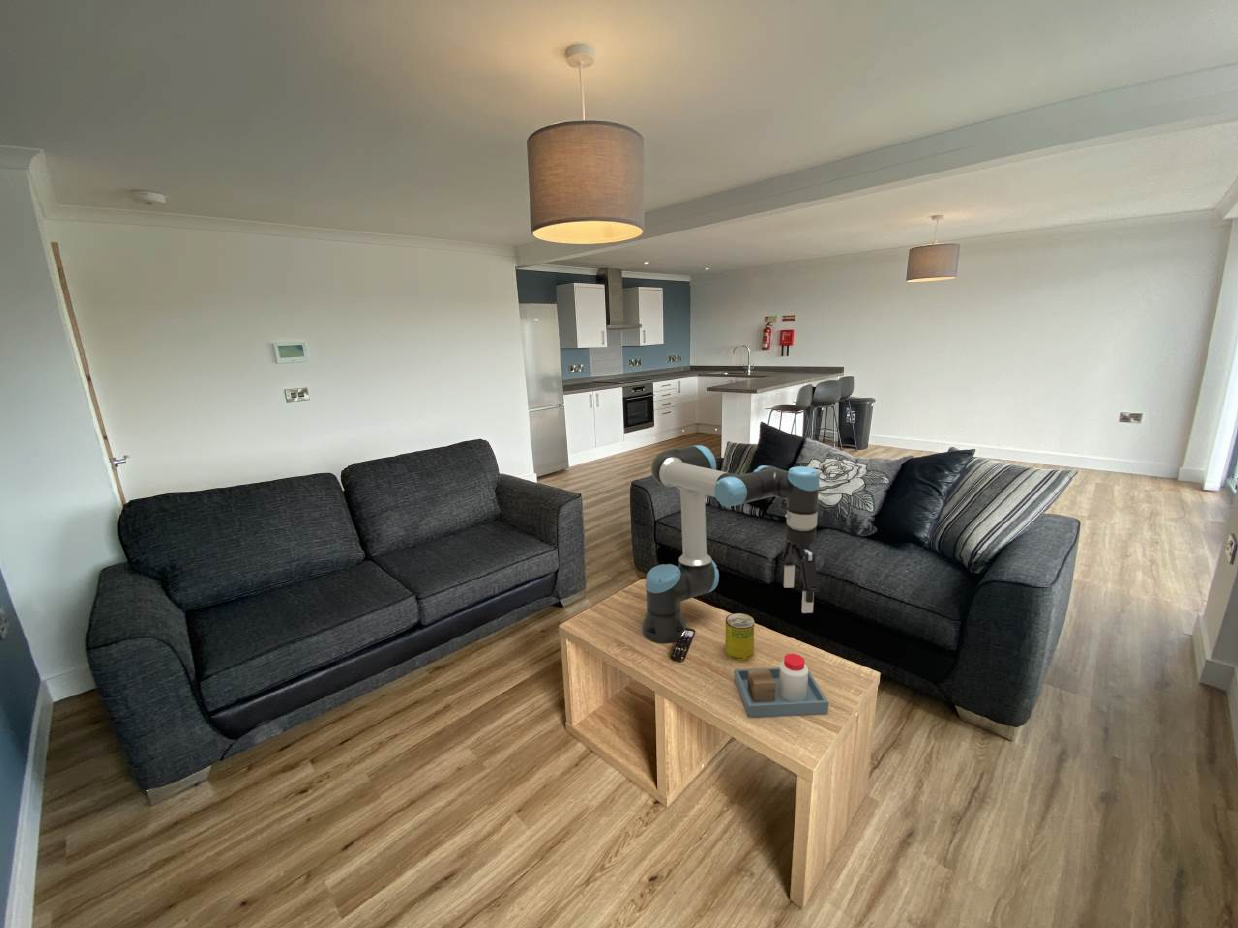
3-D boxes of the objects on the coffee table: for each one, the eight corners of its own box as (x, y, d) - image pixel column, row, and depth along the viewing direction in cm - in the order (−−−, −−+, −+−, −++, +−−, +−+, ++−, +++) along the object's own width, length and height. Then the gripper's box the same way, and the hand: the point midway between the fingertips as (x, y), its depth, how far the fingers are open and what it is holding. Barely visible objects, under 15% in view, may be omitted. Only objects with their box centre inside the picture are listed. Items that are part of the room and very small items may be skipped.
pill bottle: (801, 683, 150) (803, 650, 147) (810, 702, 142) (812, 667, 139) (775, 683, 150) (776, 651, 147) (782, 702, 142) (784, 668, 140)
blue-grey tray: (734, 680, 153) (734, 669, 152) (805, 676, 154) (806, 665, 153) (748, 717, 138) (749, 705, 137) (827, 713, 139) (828, 701, 138)
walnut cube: (747, 688, 149) (748, 670, 147) (767, 686, 149) (768, 668, 147) (753, 702, 143) (754, 683, 141) (775, 700, 143) (775, 682, 142)
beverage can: (759, 657, 164) (760, 623, 161) (735, 664, 161) (736, 630, 158) (742, 642, 172) (743, 610, 169) (719, 649, 169) (720, 617, 166)
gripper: (772, 510, 145) (769, 578, 151) (805, 545, 121) (800, 624, 126) (798, 509, 145) (794, 577, 151) (836, 543, 121) (830, 623, 126)
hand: (797, 598), depth 139 cm, fingers open, 13 cm apart
